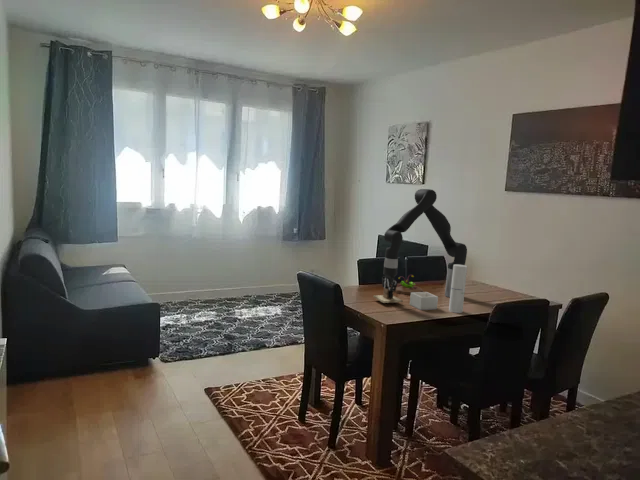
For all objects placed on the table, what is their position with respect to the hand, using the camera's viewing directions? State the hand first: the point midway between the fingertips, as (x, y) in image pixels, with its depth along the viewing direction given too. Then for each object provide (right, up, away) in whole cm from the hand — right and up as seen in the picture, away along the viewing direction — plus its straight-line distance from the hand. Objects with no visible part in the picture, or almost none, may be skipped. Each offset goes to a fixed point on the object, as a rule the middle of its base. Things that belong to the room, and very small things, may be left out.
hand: (388, 296), depth 259 cm
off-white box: (+19, -5, -4) cm, 20 cm away
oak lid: (0, -2, 0) cm, 2 cm away
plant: (+17, -1, +32) cm, 36 cm away
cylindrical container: (+35, -7, -8) cm, 37 cm away
